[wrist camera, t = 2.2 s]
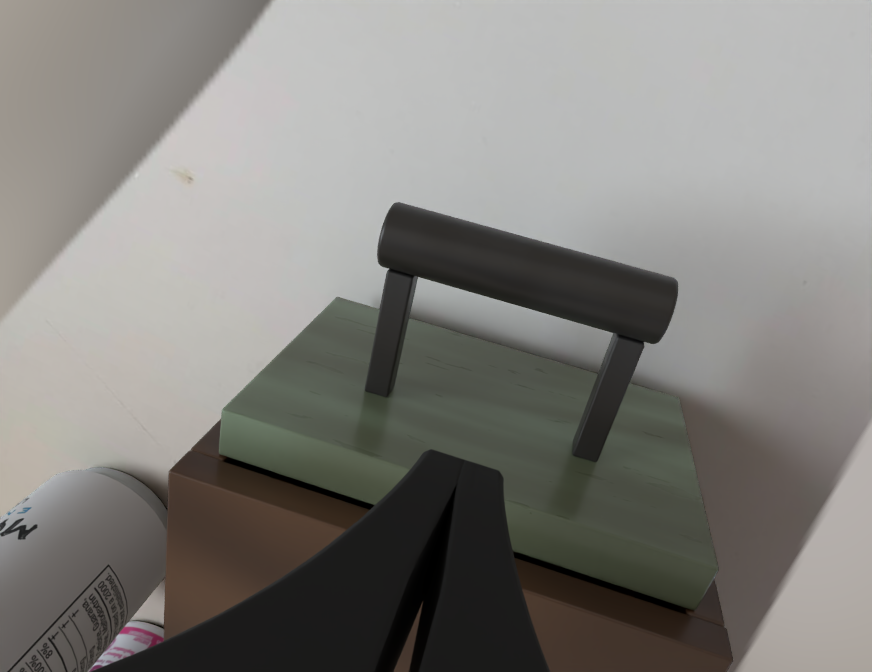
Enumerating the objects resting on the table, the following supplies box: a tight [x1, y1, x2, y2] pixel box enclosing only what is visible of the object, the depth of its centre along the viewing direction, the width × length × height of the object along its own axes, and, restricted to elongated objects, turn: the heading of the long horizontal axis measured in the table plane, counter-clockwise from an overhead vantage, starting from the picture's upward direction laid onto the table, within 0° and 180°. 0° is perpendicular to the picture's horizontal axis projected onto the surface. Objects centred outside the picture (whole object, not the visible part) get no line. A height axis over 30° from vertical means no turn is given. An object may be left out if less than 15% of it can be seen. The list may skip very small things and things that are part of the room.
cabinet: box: [164, 419, 733, 672], centre depth 20 cm, size 14×12×9 cm
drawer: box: [219, 202, 719, 610], centre depth 18 cm, size 17×10×7 cm, turn 168°
